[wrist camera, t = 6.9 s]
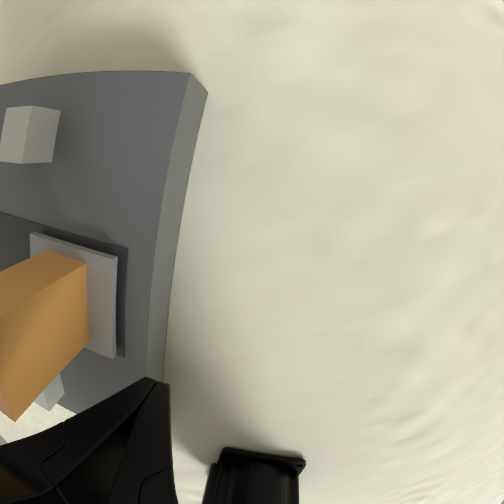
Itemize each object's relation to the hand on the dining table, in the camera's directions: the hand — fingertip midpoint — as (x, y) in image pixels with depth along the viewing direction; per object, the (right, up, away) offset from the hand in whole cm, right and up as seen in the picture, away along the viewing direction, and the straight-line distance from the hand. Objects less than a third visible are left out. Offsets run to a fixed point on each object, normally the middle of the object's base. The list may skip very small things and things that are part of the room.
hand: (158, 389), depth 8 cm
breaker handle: (-5, +2, +4) cm, 7 cm away
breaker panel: (-8, +4, +7) cm, 11 cm away
